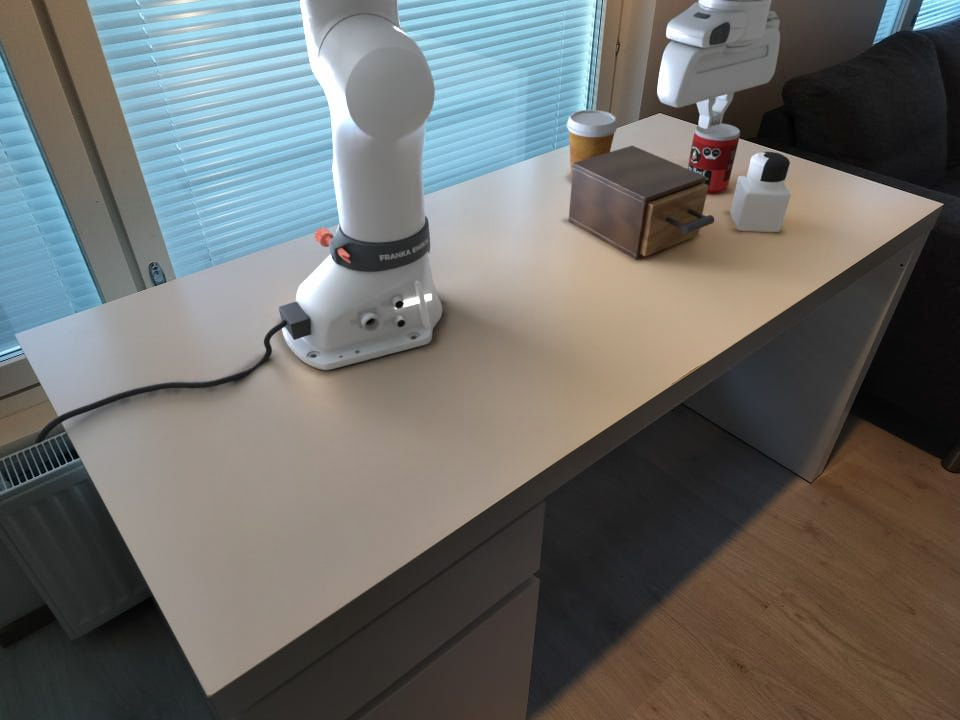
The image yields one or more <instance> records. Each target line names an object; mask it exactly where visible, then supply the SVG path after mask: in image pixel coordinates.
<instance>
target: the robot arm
mask: <svg viewBox="0 0 960 720" xmlns="http://www.w3.org/2000/svg"><path fill="white" fill-rule="evenodd" d="M299 1H300V10H301V16H302V22H303V29H304V35H305V43H306V48H307V53H308V60H309V64H310V68H311V71H312V74H313V75H314V77H315V78H316V80H317V82H318V83H319V85H320V86H321V88H322V89H323V92H324V94H325V97H326V100H327V103H328V107H329V113H330V120H331V134H332V165H331V172H332V178H333V179H332V180H333V185H334V191H335V192H334V193H335V198H336V199H335V200H336V205H337V212H338V219H339V222H338V225H337V228H336V230H335V233H334V234H333V233H332V232H330V231H329V230H328V229H327V228H325V227H320V228H318V229H317V230H315V233H314V239H315V241H316V242H317V243H319V244H320V245H321V246H322V247H324V248H328V247H329V252H330V253H329V255H327V257H326V258H325V259H324V260H323V261H322V262H321V263H320V264H319V265H318V266H317V267H316V269H315V270H314V271H313V272H311V273H310V275H309V276H307V277H306V279H305V280H304V281H302V283H300V285H299V286H298V288H297V291H296V294H295V301H293V302H290V303H287V304H283V305H280V306H278V311H279V316H280V320H281V321H280V322H279V323H278V324H276V325H274V326H273V327H272V328H271V329H270V330H268V331H267V333H266V334H265V336H264V338H263V345H264V348H265V352H264V354H263V355H262V357H261V358H260V359H259V361H258V362H256V363H255V364H254V365H252V366H251V367H249V368H247V369H245V370H242V371H240V372H237V373H234V374H230V375H226V376H223V377H220V378H217V379H212V380H206V381H169V382H160V383H155V384H150V385H145V386H140V387H137V388H132V389H129V390H125V391H122V392H119V393H116V394H113V395H110V396H107V397H105V398H102V399H100V400H97V401H94V402H92V403H89V404H87V405H83V406H80V407H78V408H74V409H72V410H70V411H67V412H64V413H62V414H61V415H59V416H57V417H55V418H53V419H52V420H51V421H49V422H48V423H47V424H45V426H43V428H42V429H41V430H40V432H39V433H38V435H37V436H36V438H35V440H34V444H40V443H42V442H43V441H44V440H45V439H46V437H47V436H48V435H49V434H50V433H51V431H53V429H55V428H56V427H58V426H59V425H60V424H61V423H63V422H65V421H67V420H70V419H72V418H74V417H76V416H79V415H82V414H85V413H88V412H91V411H94V410H96V409H98V408H102V407H104V406H107V405H109V404H112V403H114V402H117V401H119V400H123V399H126V398H130V397H134V396H137V395H141V394H146V393H151V392H155V391H160V390H167V389H206V388H213V387H217V386H220V385H224V384H227V383H231V382H234V381H237V380H241V379H242V378H245V377H247V376H249V375H250V374H251V373H252V372H254V371H255V370H256V369H258V368H260V367H261V366H263V364H265V363H266V362H268V360H269V359H270V357H271V355H272V354H273V346H272V345H271V339H272V338H273V336H274V335H275V334H277V333H278V332H279V331H281V330H282V336H283V339H284V341H285V343H286V345H287V346H288V348H289V349H290V350H291V352H292V353H293V354H294V355H295V356H296V357H297V358H298V359H299V360H300V361H302V362H304V363H305V364H306V365H309V366H310V367H313V368H315V369H318V370H322V371H329V370H335V369H338V368H342V367H345V366H350V365H354V364H357V363H361V362H365V361H368V360H372V359H373V360H374V359H376V358H380V357H384V356H388V355H391V354H395V353H399V352H403V351H406V350H411V349H414V348H418V347H422V346H426V345H428V344H430V343H431V341H432V340H433V333H434V332H433V330H434V328H435V327H436V326H437V324H438V323H439V322H440V320H441V318H442V315H443V305H442V303H441V300H440V297H439V294H438V292H437V289H436V285H435V281H434V278H433V273H432V267H431V261H430V256H429V254H430V252H431V233H430V223H429V219H428V217H427V216H426V210H425V209H426V208H425V194H424V192H425V191H424V175H423V162H424V161H423V160H424V149H425V140H426V134H427V125H428V118H429V116H430V114H431V112H432V110H433V108H434V102H435V95H436V91H435V90H436V89H435V81H434V77H433V75H432V72H431V69H430V66H429V64H428V60H427V58H426V56H425V54H424V52H423V50H422V49H421V48H420V46H419V45H418V44H417V43H416V41H415V40H414V39H412V38H411V37H410V36H409V35H407V34H406V33H405V32H404V31H403V28H402V25H401V21H400V15H399V0H299ZM771 4H772V0H698V1H696V2H694V3H693V4H692V5H691V6H689V7H688V8H687V9H686V10H684V11H683V12H681V13H680V14H679V15H677V16H675V17H674V18H672V19H671V20H670V21H668V23H667V25H666V30H665V31H666V33H665V36H666V37H665V38H667V39H669V40H671V41H670V42H669V43H667V45H666V47H665V48H664V51H663V54H662V58H661V62H660V68H659V73H658V80H657V89H656V90H657V91H656V93H657V94H656V95H657V97H658V100H659V101H660V102H661V103H662V104H664V105H667V106H670V107H673V108H676V109H678V108H679V109H680V108H683V107H686V106H690V105H693V104H696V106H697V110H698V113H699V117H698V122H697V123H698V125H699V127H701V128H704V129H708V128H711V127H714V126H717V125H720V124H721V123H723V118H724V115H725V113H726V111H727V109H728V108H729V106H730V105H731V104H732V101H733V99H734V94H735V93H736V92H740V91H743V90H744V91H745V90H747V89H752V88H755V87H758V86H762V85H766V84H768V83H770V81H771V80H772V78H773V76H774V75H775V72H776V68H777V63H778V57H779V50H780V43H781V32H780V30H779V28H780V24H781V23H780V22H781V21H780V19H779V16H778V15H777V13H776V11H774V10H771V9H770V8H771ZM698 125H697V126H698Z"/></svg>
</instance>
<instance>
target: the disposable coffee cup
mask: <svg viewBox="0 0 960 720" xmlns="http://www.w3.org/2000/svg"><path fill="white" fill-rule="evenodd" d="M566 127H567V130H568V140H569V156H570V157H569V161H570V162H569V163H570V179H571V180H572V172H573V163H576V162H579V161H582V160H585V159H589V158H592V157H595V156H599V155H602V154H605V153H609V152H611V150H612V145H613V141H614V137H615V133H616V131H617V129H618V128H619V124H618V122H617V116H616V115H615V114H613V113H611V112H608V111H605V110H598V109H583V110H577V111H574V112H572V113H571V114H570V115H569V118H568V120H567V121H566Z"/></svg>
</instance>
